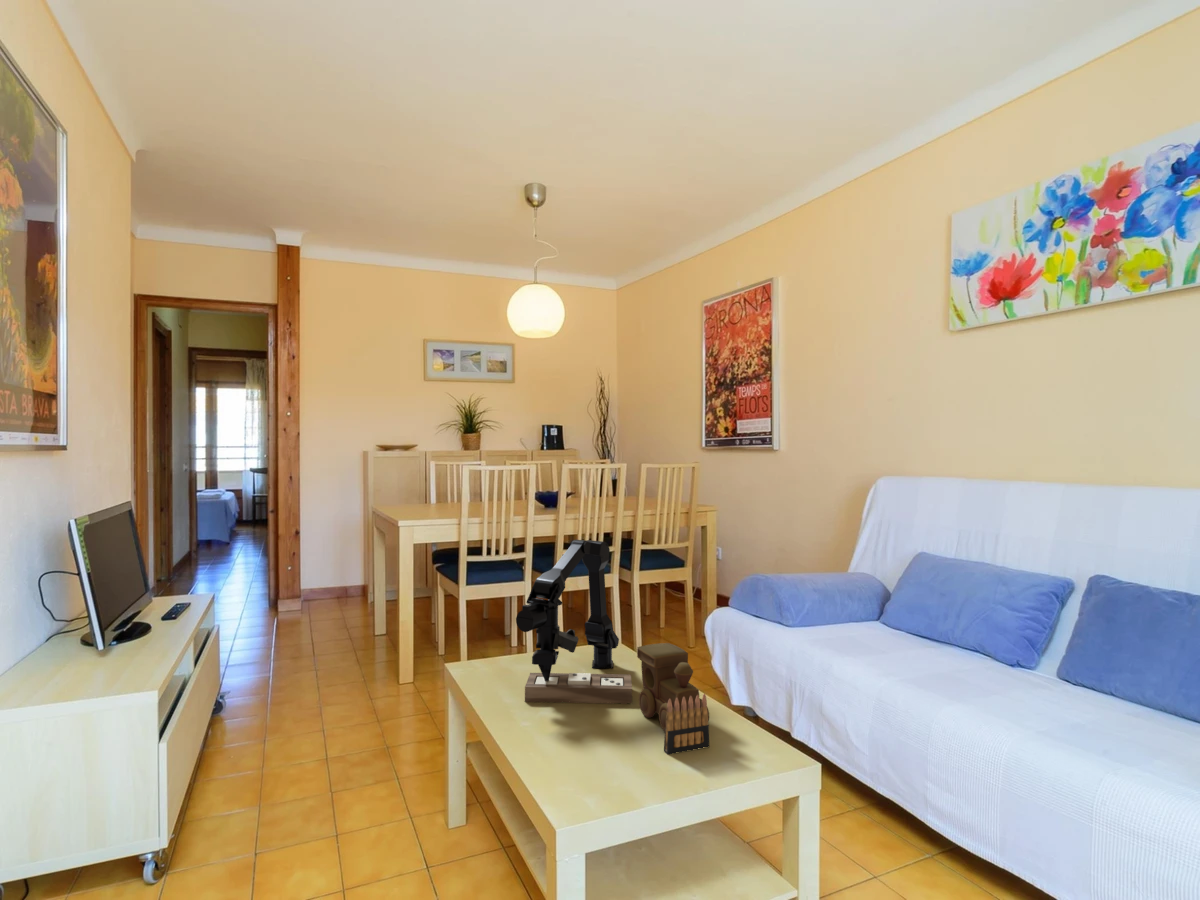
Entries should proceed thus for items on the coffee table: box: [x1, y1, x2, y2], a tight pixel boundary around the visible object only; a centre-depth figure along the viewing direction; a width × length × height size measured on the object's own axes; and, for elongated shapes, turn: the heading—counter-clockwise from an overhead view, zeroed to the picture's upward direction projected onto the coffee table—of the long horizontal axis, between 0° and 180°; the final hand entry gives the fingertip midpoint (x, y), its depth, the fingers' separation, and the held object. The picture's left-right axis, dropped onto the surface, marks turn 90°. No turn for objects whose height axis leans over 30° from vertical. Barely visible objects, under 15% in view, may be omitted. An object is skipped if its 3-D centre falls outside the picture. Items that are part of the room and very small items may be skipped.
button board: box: [524, 672, 633, 705], centre depth 177 cm, size 11×29×4 cm, turn 89°
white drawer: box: [535, 677, 559, 684], centre depth 177 cm, size 6×6×3 cm
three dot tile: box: [601, 678, 623, 686], centre depth 177 cm, size 6×6×3 cm
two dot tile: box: [568, 672, 592, 685], centre depth 177 cm, size 6×6×3 cm
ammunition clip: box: [663, 693, 710, 755], centre depth 146 cm, size 11×2×12 cm, turn 110°
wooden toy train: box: [636, 642, 710, 732], centre depth 161 cm, size 20×11×17 cm, turn 24°
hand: (546, 680), depth 177 cm, fingers closed, pressing on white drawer
